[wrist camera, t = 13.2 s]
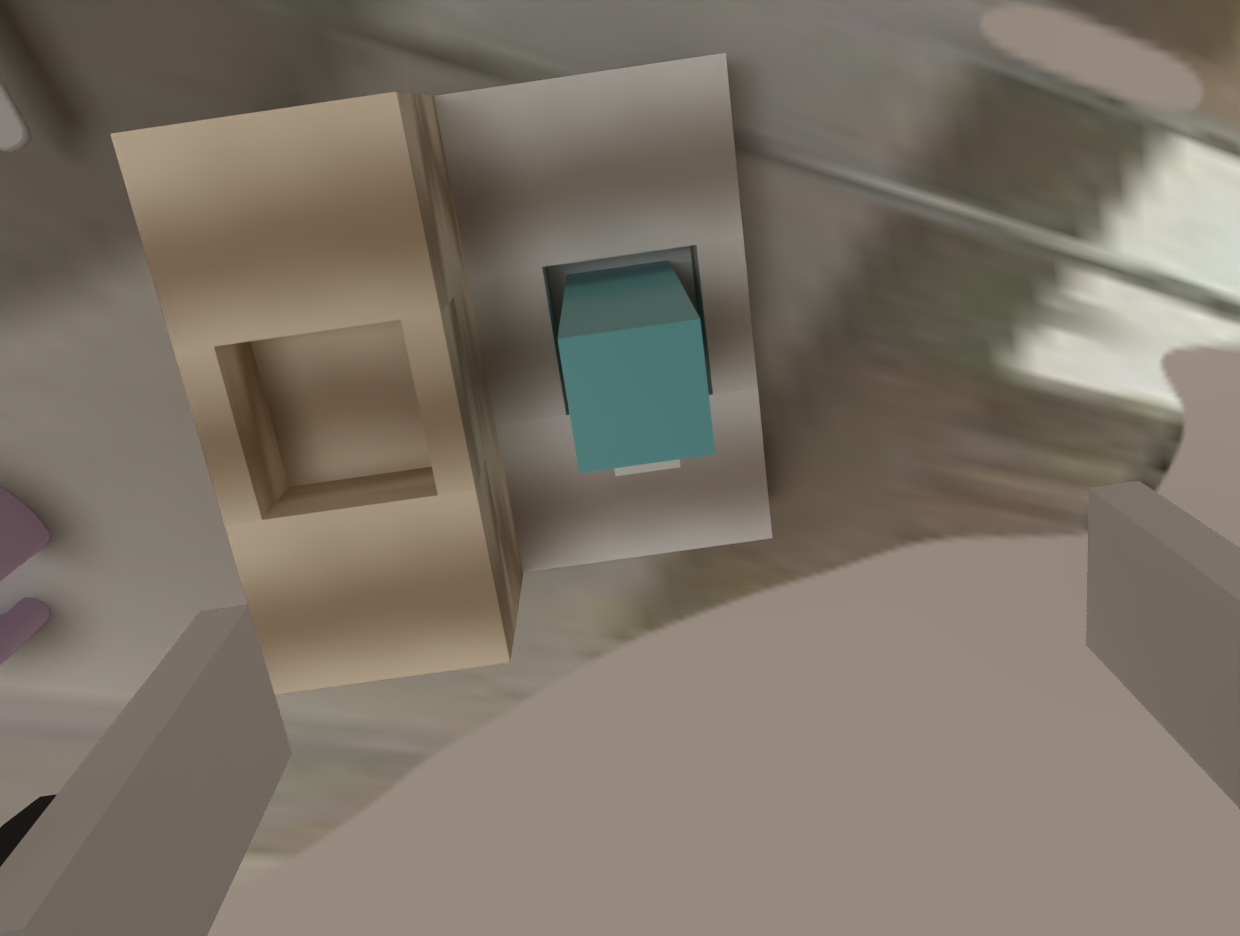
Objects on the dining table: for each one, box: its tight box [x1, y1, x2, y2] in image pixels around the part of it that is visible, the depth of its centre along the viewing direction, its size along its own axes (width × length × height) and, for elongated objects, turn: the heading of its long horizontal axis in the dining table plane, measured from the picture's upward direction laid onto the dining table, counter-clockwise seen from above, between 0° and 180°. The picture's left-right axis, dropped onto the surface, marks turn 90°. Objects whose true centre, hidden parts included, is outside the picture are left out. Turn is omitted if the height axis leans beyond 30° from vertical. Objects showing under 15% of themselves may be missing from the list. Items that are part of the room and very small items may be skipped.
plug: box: [558, 260, 715, 476], centre depth 34 cm, size 5×4×12 cm
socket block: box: [111, 53, 772, 694], centre depth 36 cm, size 18×18×11 cm
